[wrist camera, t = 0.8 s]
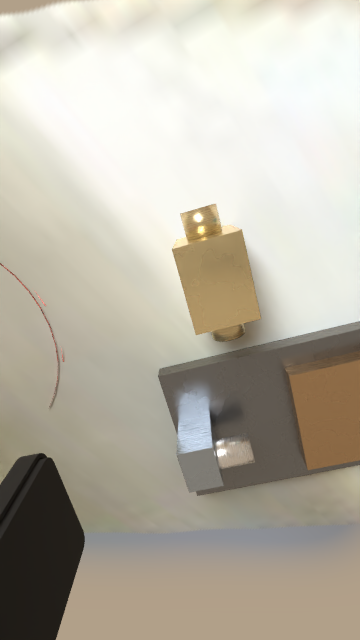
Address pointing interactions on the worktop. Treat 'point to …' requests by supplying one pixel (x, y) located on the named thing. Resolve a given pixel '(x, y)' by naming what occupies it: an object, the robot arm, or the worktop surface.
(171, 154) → the worktop surface
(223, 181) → the worktop surface
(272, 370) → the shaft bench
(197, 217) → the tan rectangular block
